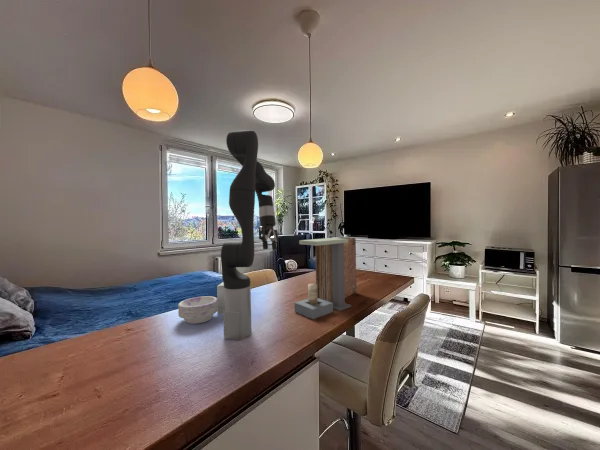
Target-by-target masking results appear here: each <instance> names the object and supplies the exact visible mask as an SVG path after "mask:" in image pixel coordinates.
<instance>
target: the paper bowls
mask: <svg viewBox="0 0 600 450" xmlns="http://www.w3.org/2000/svg"><path fill="white" fill-rule="evenodd" d="M177 306H178V308H177V309H178V311H177V312H178V313H177V314H178V317H179V318H181V319H183V320H184V321H185V323H188V324H194V325H195V324H202V323H205V322H208V321H210V320H212V319H213V316H214V314H216V313H218V299H217V296H210V295H207V296H205V295H203V296H201V295H200V296H195V297H191V298H186V299H184V300H182V301H180V302H179V303H178V304H177Z"/></svg>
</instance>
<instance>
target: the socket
mask: <svg viewBox="0 0 600 450" xmlns="http://www.w3.org/2000/svg"><path fill="white" fill-rule="evenodd" d="M293 304H294V312H295V313H298V314H299V315H301V316H304V317H306V318H309V319H311V320H315V319H317V318H321V317H324V316H325V315H329V314H331V313H333V312H334V309H333V303H332V302H329V301H326V300H322V299H319V298H318V304H317V305H314V306H313V305H310V304H309V298H305V299H302V300H299V301H296V302H295V301H294V303H293Z"/></svg>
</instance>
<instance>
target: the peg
mask: <svg viewBox="0 0 600 450" xmlns="http://www.w3.org/2000/svg"><path fill="white" fill-rule="evenodd" d="M307 288H308V289H307V290H308V291H307V292H308V293H307V295H308V299H309V304H310V305H313V306H314V305H317V304H318V293H317V284H316V283H308V284H307Z"/></svg>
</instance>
